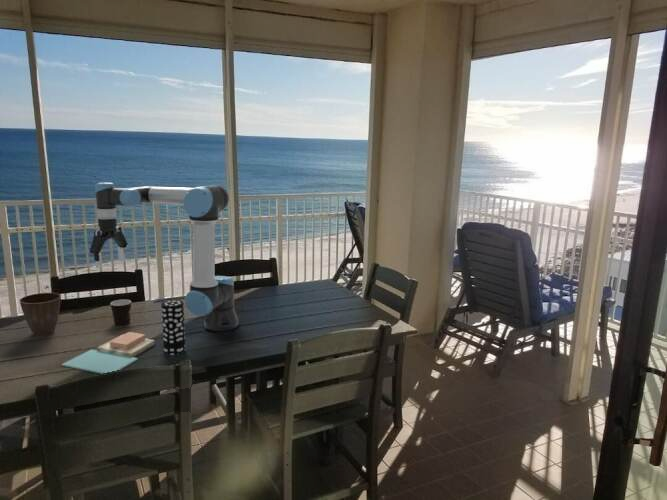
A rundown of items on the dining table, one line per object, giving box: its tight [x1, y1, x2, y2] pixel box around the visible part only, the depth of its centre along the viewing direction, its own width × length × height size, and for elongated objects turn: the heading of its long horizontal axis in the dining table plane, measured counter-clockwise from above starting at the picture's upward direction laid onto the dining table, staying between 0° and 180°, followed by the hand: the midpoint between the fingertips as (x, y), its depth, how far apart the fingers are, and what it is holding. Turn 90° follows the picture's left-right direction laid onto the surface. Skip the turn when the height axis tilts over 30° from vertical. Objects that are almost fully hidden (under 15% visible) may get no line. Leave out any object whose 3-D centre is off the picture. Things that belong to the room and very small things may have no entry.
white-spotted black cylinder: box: [160, 299, 186, 356], centre depth 190 cm, size 8×8×20 cm
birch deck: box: [96, 334, 156, 358], centre depth 193 cm, size 16×14×2 cm
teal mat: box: [61, 349, 139, 375], centre depth 180 cm, size 22×14×1 cm, turn 72°
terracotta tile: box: [109, 331, 147, 349], centre depth 194 cm, size 8×11×2 cm
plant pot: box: [19, 292, 62, 337], centre depth 204 cm, size 15×15×16 cm
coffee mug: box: [110, 299, 132, 327], centre depth 220 cm, size 12×9×10 cm
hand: (110, 264), depth 216 cm, fingers open, 13 cm apart
